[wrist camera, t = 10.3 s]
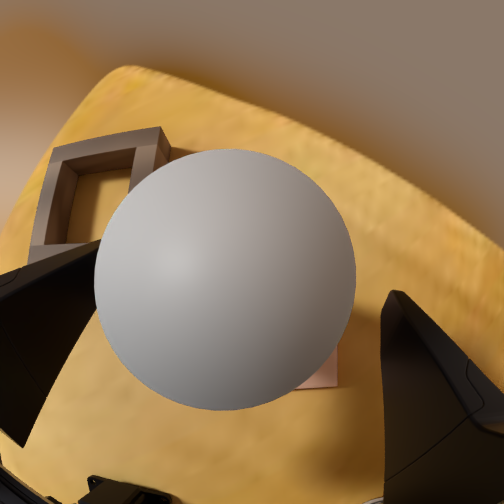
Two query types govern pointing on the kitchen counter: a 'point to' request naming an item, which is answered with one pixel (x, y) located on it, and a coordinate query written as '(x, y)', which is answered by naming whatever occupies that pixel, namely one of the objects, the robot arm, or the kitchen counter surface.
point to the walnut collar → (86, 162)
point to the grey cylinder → (225, 279)
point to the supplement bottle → (375, 501)
